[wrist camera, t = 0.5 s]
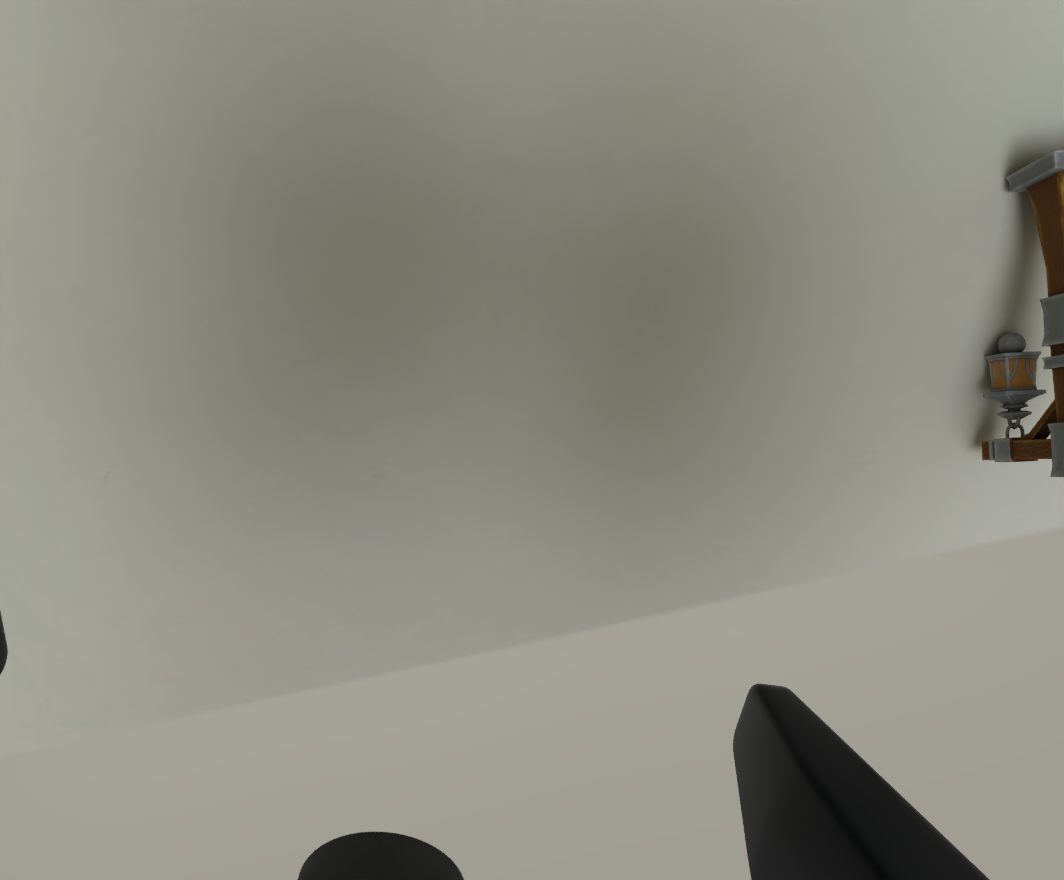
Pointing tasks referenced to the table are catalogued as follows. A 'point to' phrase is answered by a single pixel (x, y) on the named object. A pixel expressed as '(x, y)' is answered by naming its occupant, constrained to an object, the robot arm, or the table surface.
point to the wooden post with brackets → (1060, 208)
